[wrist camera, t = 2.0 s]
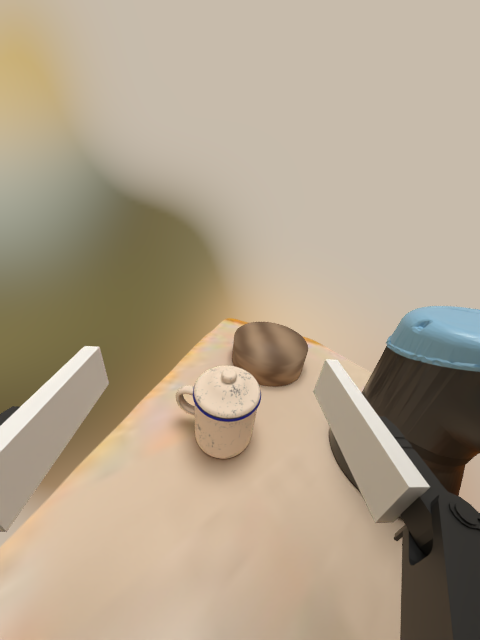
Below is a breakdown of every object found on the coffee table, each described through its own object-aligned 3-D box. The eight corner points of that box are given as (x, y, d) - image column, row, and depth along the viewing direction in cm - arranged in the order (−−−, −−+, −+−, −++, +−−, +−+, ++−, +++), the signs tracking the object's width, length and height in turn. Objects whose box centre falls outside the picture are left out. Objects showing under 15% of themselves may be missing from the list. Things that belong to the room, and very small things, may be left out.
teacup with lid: (256, 412, 35) (267, 358, 30) (247, 470, 27) (260, 410, 22) (189, 396, 37) (188, 342, 31) (163, 446, 29) (155, 385, 23)
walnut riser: (290, 343, 56) (295, 324, 53) (311, 388, 42) (320, 365, 39) (231, 339, 54) (233, 319, 51) (232, 385, 40) (235, 361, 37)
